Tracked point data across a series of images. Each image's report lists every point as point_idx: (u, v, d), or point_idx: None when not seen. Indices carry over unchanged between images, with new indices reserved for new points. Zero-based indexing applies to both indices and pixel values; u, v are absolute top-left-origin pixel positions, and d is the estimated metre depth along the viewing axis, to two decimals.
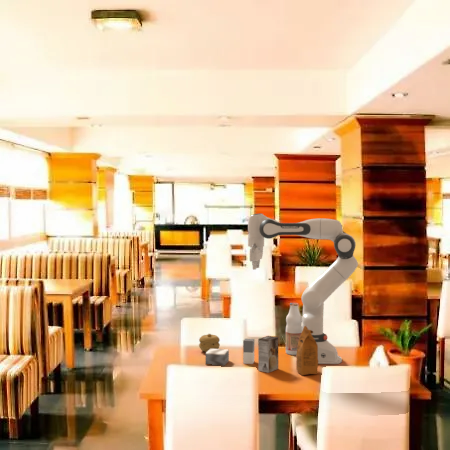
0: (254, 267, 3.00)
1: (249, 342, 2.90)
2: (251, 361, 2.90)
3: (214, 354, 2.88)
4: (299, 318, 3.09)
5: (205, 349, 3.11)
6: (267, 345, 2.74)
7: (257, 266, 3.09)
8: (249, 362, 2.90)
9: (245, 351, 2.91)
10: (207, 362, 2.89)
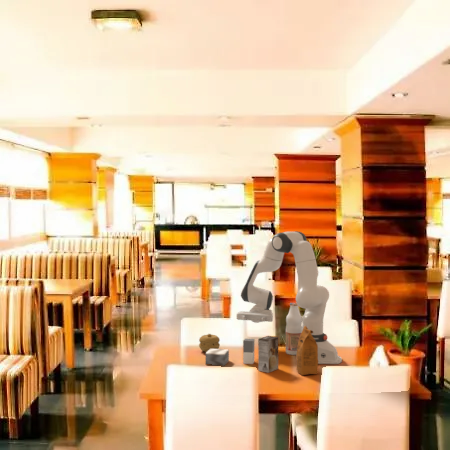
0: (243, 318, 3.06)
1: (249, 342, 2.90)
2: (251, 361, 2.90)
3: (214, 354, 2.88)
4: (299, 318, 3.09)
5: (205, 349, 3.11)
6: (267, 345, 2.74)
7: (260, 319, 3.04)
8: (249, 362, 2.90)
9: (245, 351, 2.91)
10: (207, 362, 2.89)
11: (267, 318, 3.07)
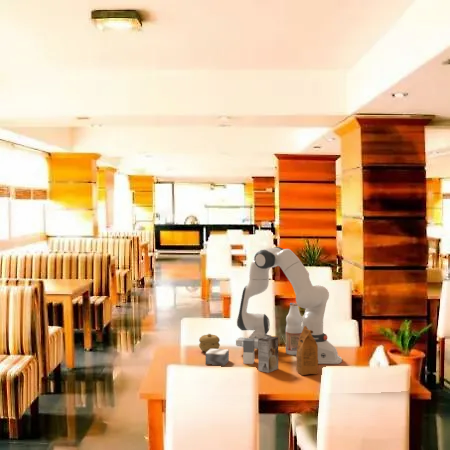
0: None
1: (249, 342, 2.90)
2: (251, 361, 2.90)
3: (214, 354, 2.88)
4: (299, 318, 3.09)
5: (205, 349, 3.11)
6: (267, 345, 2.74)
7: None
8: (249, 362, 2.90)
9: (245, 351, 2.91)
10: (207, 362, 2.89)
11: None
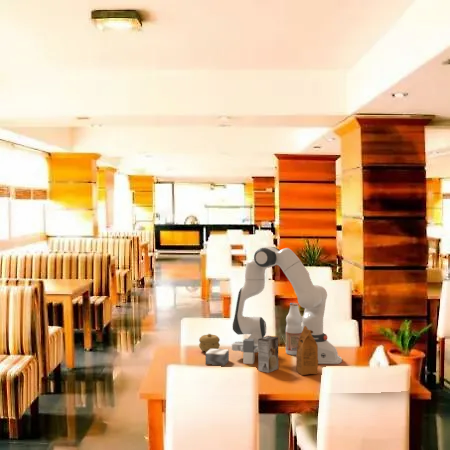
0: None
1: (249, 342, 2.90)
2: (251, 361, 2.90)
3: (214, 354, 2.88)
4: (299, 318, 3.09)
5: (205, 349, 3.11)
6: (267, 345, 2.74)
7: None
8: (249, 362, 2.90)
9: (245, 351, 2.91)
10: (207, 362, 2.89)
11: None
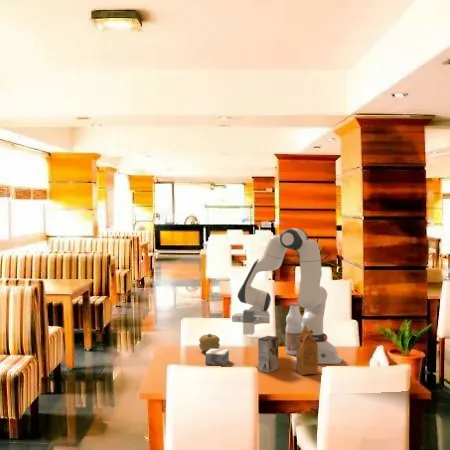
0: None
1: (249, 312, 2.90)
2: (251, 331, 2.90)
3: (214, 354, 2.88)
4: (299, 318, 3.09)
5: (205, 349, 3.11)
6: (267, 345, 2.74)
7: (253, 320, 2.92)
8: (249, 332, 2.90)
9: (245, 322, 2.90)
10: (207, 362, 2.89)
11: (264, 320, 2.94)
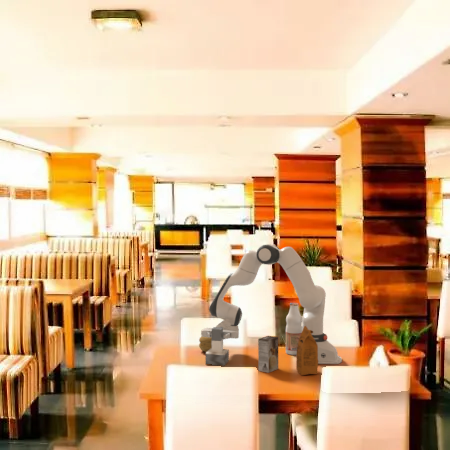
0: None
1: (217, 330, 2.90)
2: (219, 350, 2.90)
3: (214, 354, 2.88)
4: (299, 318, 3.09)
5: (205, 349, 3.11)
6: (267, 345, 2.74)
7: None
8: (217, 351, 2.90)
9: (213, 340, 2.90)
10: (207, 362, 2.89)
11: (232, 335, 2.94)
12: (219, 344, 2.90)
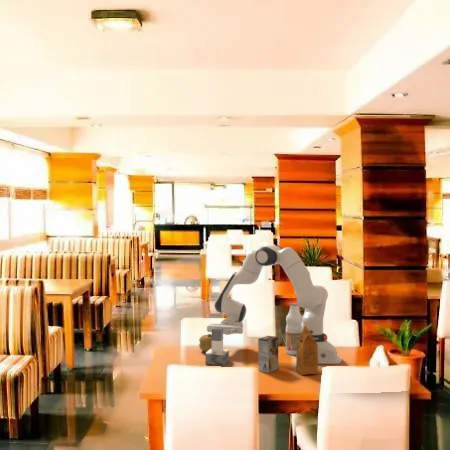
0: None
1: (217, 330, 2.90)
2: (219, 350, 2.90)
3: (214, 354, 2.88)
4: (299, 318, 3.09)
5: (205, 349, 3.11)
6: (267, 345, 2.74)
7: None
8: (217, 351, 2.90)
9: (213, 340, 2.90)
10: (207, 362, 2.89)
11: (237, 330, 3.06)
12: (219, 344, 2.90)
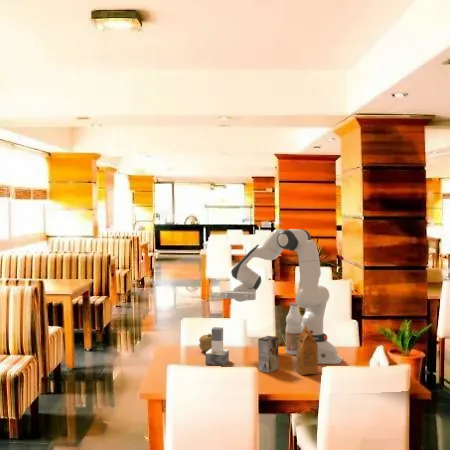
0: None
1: (217, 330, 2.90)
2: (219, 350, 2.90)
3: (214, 354, 2.88)
4: (299, 318, 3.09)
5: (205, 349, 3.11)
6: (267, 345, 2.74)
7: None
8: (217, 351, 2.90)
9: (213, 340, 2.90)
10: (207, 362, 2.89)
11: (250, 296, 3.10)
12: (219, 344, 2.90)
